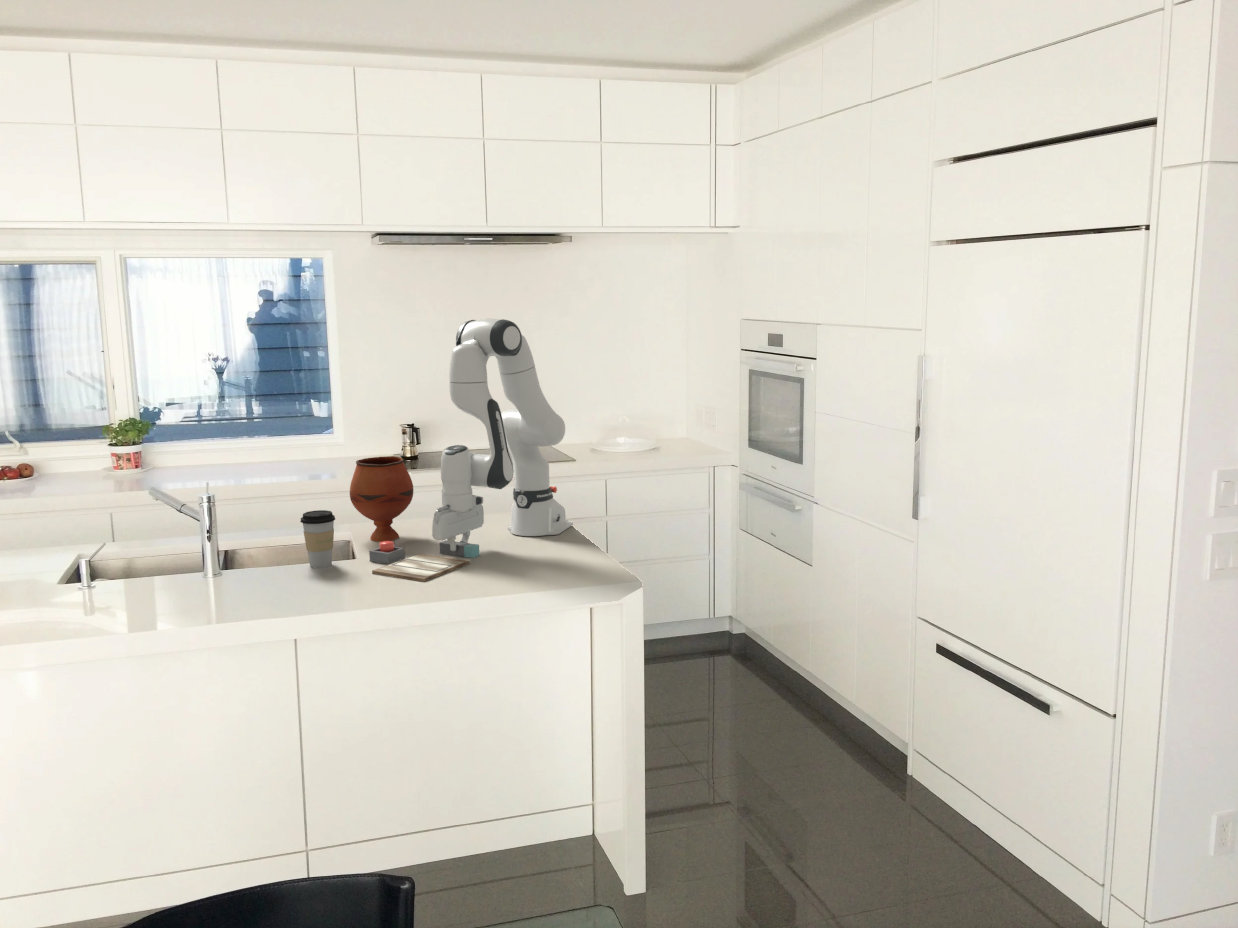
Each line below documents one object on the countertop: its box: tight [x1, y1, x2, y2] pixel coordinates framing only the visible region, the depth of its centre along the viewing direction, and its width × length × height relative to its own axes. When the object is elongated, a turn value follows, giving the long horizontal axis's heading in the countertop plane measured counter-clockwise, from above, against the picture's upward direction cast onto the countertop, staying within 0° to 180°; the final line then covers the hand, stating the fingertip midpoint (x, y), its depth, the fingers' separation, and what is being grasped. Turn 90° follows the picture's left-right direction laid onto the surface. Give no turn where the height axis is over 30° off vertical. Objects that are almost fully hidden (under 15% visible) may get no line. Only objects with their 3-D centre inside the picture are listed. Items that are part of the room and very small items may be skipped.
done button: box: [379, 540, 395, 553], centre depth 288 cm, size 4×4×3 cm
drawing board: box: [371, 553, 471, 583], centre depth 279 cm, size 20×18×1 cm
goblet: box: [349, 455, 414, 543], centre depth 312 cm, size 19×19×25 cm
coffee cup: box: [300, 509, 336, 569], centre depth 282 cm, size 9×9×15 cm
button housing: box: [368, 546, 406, 565], centre depth 289 cm, size 7×7×3 cm
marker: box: [438, 539, 480, 559], centre depth 294 cm, size 12×3×3 cm, turn 62°
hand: (459, 548), depth 294 cm, fingers closed on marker, 3 cm apart
